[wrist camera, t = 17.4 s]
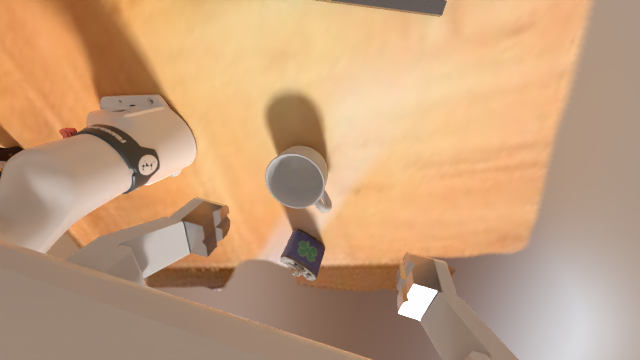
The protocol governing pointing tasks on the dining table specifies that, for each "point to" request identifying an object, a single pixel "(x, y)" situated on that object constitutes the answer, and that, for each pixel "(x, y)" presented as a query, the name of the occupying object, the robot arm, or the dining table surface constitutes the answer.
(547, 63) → the dining table surface
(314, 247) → the flask
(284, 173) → the teacup
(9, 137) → the dining table surface
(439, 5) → the press frame
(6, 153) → the coffee mug
